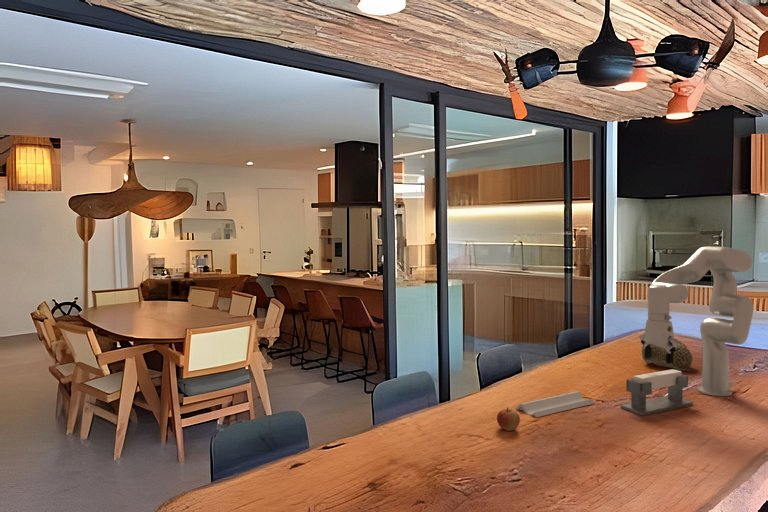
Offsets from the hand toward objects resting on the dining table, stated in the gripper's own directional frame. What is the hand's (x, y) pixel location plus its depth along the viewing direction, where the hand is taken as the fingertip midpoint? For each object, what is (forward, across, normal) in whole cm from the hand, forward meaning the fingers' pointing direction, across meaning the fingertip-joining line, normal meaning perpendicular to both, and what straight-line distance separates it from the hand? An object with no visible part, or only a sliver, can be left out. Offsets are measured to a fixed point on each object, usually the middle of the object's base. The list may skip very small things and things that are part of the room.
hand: (658, 360), depth 216 cm
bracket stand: (+18, 0, +1) cm, 18 cm away
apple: (+17, +6, +68) cm, 70 cm away
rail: (+10, 0, +1) cm, 10 cm away
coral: (+20, +41, -56) cm, 72 cm away
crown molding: (+18, +18, +36) cm, 44 cm away
